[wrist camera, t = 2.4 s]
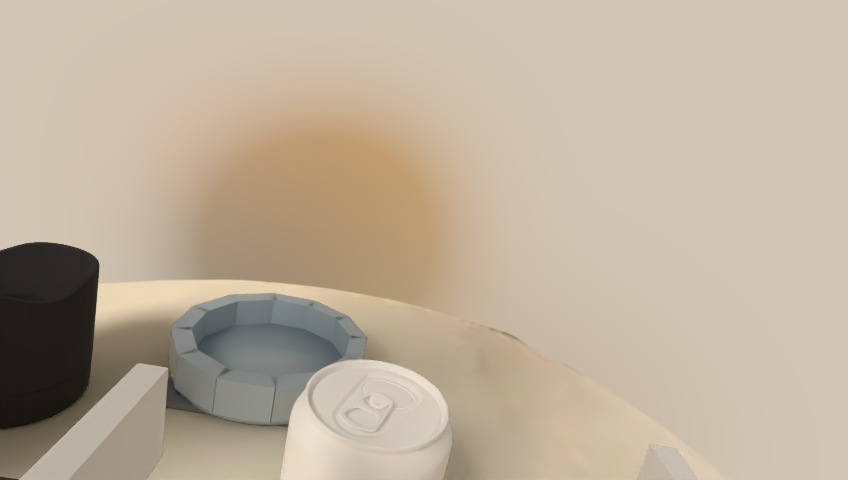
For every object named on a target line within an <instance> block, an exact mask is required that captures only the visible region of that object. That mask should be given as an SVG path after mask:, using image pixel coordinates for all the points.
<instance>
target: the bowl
mask: <svg viewBox="0 0 848 480" xmlns="http://www.w3.org/2000/svg"><path fill="white" fill-rule="evenodd" d="M366 339H367V337H366V336H365V335H364V334H363V333H362V331H361V330H360V329H359V328H358V327H357V326H356V324H355V323H354V322H353V321H352V320H351V318H350V317H348V316H347V315H345V314H343V313H340V312H338V311H336V310H334V309H332V308H330V307H328V306H325V305H323V304H321V303H319V302H317V301H313V300H308V299H303V298H297V297H292V296H286V295H281V294H276V293H266V294H235V295H228V296H224V297H221V298H218V299H215V300H211V301H208V302H205V303H201V304H198V305H195V306H192V307H191V308H190V309H189V310H188V311H187V312H186V313H185V314H184V315H183V316H182V317H181V318H180V319H179V320H178V321H177V322H176V323H175V324H174V325H173V326H172V327H171V334H170V347H169V359H168V360H169V365H170V369H171V370H170V371H171V379H172V382H173V385H174V388H175V389H176V390H177V391H178V393H179V394H180V395H181V396H182V397H183V398H184V399H185V400H186V401H188V402H189V403H190V404H192V405H193V406H195V407H197V408H198V409H200V410H202V411H204V412H206V413H209V414H211V415H213V416H216V417H219V418H223V419H226V420H230V421H235V422H240V423H247V424H255V425H282V424H289V420H290V415H291V411H292V408H293V406H294V404H295V402H296V400H297V399H298V397H299V396H300V395H301V393H302V392H303V391H304V390H305V388H306V385H307V383H308V381H309V380H310V379H311V377H312V376H313V375H314V374H315V373H316V372H318V371H319V370H321V369H322V368H324V367H326V366H329V365H331V364H334V363H337V362H341V361H347V360H358V359H363V355H364V350H365V344H366Z"/></svg>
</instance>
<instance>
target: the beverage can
mask: <svg viewBox="0 0 848 480" xmlns="http://www.w3.org/2000/svg"><path fill="white" fill-rule="evenodd" d="M451 448H452V429H451V425H450V422H449V409H448V405H447V402H446V400H445V398H444V396H443V395H442V393H441V392H440V391H439V390H438V389H437V387H436V386H434V385H433V384H432V383H431V382H430V381H429V380H427V379H426V378H424V377H423V376H421V375H420V374H418V373H416V372H414V371H412V370H410V369H407V368H405V367H402V366H399V365H396V364H393V363H388V362H384V361H378V360H366V359H358V360H347V361H341V362H337V363H334V364H331V365H329V366H326V367H324V368H322V369H321V370H319V371H318V372H316V373H315V374H314V375H313V376H312V377H311V379H310V380H309V381H308V383H307V385H306V388H305V390H304V391H303V392H302V393H301V395H300V396H299V397H298V399H297V400H296V402H295V404H294V406H293V408H292V411H291V415H290V420H289V426H288V432H287V439H286V445H285V451H284V457H283V463H282V470H281V476H280V480H443V478H444V474H445V470H446V467H447V463H448V459H449V456H450V452H451Z"/></svg>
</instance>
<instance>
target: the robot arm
mask: <svg viewBox="0 0 848 480" xmlns="http://www.w3.org/2000/svg"><path fill="white" fill-rule="evenodd" d="M167 381H168V368H167V367H161V366H154V365H148V364H142V363H138V364H137V365H135V366H134V367H133V368H132V369H131V370H130V371H129V372H128V373H127V374H126V375H125V376H124V377H123V378H122V379H121V380H120V381H119V382H118V383H117V384H116V385H115V386H114V387H113V388H112V389H111V390H110V391H109V392H108V393H107V394H106V395H105V396H104V397H103V398H102V399H101V400H100V401H99V402H98V403H97V404H96V405H95V406H94V407H93V408H92V409H90V410H89V411H88V412H87V413H86V414H85V415H84V416H83V417H82V418H81V419H80V420H79V421H78V422H77V423H76V424H75V425H74V426H73V427H72V428H71V429H70V430H69V431H68V432H67V433H66V434H65V435H64V436H63V437H62V438H61V439H60V440H59V441H58V442H57V443H56V444H55V445H54V446H53V447H52V448H51V449H50V450H49V451H48V452H47V453H46V454H44V455H43V456H42V457H41V458H40V459H39V460H38V461H37V462H36V463H35V464H34V465H33V466H32V467H31V468H30V469H29V470H28V471H27V472H26V473H25V474H24V475H23V476H22V477H21V478H20V479H12V478H5V477H0V480H146V479H147V478H148V476H149V475H150V473H151V472H152V471H153V469H154V468H155V466H156V465H157V463H158V462H159V460H160V459H161V458H162V453H163V438H164V424H165V410H166V396H167ZM637 480H699V479H698V478H697V476H696V475H695V474H694V472H693V471H692V470H691V468H690V467H689V466H688V464H687V463H686V462H685V460H684V459H683V458H682V456H681V455H680V454H679V452H678V451H677V450H676V449H675V448H669V447H662V446H656V445H649V448H648V451H647V454H646V456H645V459H644V462H643V464H642V467H641V470H640V472H639V475H638V478H637Z"/></svg>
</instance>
